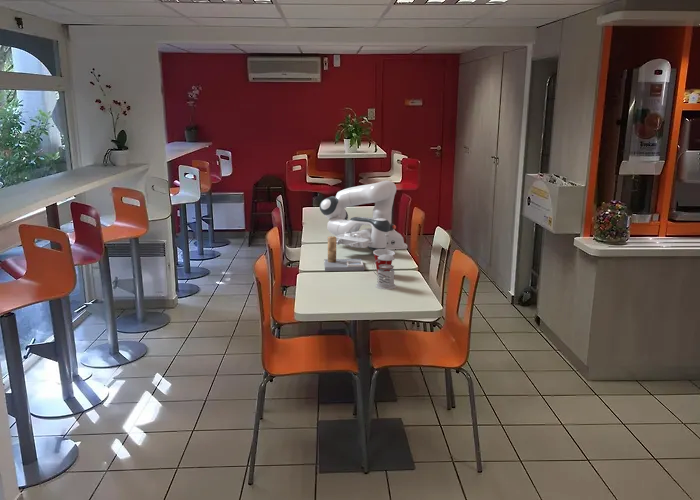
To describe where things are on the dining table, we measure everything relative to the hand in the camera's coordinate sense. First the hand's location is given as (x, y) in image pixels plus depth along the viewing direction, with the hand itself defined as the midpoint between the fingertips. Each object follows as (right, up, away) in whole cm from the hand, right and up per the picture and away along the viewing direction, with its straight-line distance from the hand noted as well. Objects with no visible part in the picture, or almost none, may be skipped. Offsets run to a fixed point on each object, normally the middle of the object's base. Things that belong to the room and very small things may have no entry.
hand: (344, 244), depth 316 cm
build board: (0, -12, -10) cm, 16 cm away
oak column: (-6, -9, -7) cm, 13 cm away
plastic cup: (+20, -16, -25) cm, 36 cm away
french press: (+19, -20, -42) cm, 51 cm away
